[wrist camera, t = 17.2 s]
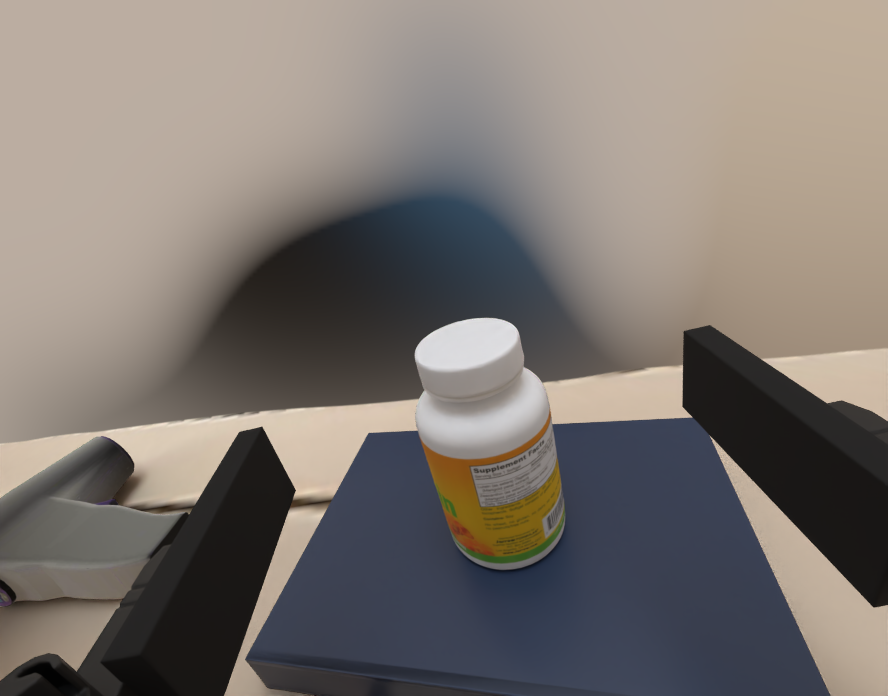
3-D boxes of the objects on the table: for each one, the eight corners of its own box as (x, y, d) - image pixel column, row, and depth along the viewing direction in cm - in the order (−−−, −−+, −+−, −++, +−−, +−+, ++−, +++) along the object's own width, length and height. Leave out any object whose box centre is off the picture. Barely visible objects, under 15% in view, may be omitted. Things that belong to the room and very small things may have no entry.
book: (266, 687, 19) (244, 659, 18) (378, 457, 30) (368, 432, 29) (838, 776, 13) (851, 741, 12) (699, 447, 25) (701, 416, 24)
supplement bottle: (442, 497, 23) (389, 333, 18) (539, 466, 23) (510, 298, 19) (466, 591, 18) (402, 399, 14) (588, 550, 18) (564, 349, 14)
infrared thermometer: (165, 620, 24) (-49, 614, 26) (269, 463, 34) (109, 470, 37) (123, 566, 22) (-105, 565, 24) (247, 416, 32) (79, 427, 35)
